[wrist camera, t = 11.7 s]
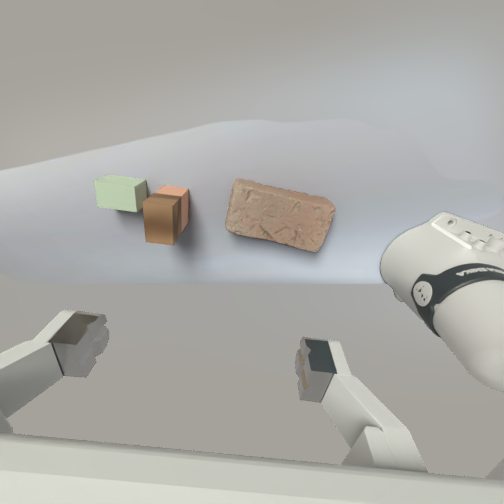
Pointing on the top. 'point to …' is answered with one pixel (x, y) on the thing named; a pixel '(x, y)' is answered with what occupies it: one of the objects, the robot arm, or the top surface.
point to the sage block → (120, 192)
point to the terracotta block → (184, 200)
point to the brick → (279, 215)
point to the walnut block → (162, 218)
